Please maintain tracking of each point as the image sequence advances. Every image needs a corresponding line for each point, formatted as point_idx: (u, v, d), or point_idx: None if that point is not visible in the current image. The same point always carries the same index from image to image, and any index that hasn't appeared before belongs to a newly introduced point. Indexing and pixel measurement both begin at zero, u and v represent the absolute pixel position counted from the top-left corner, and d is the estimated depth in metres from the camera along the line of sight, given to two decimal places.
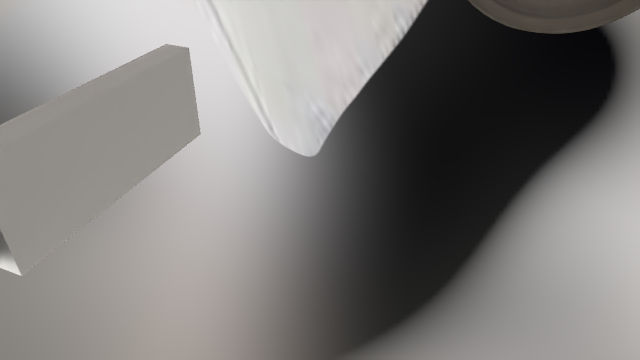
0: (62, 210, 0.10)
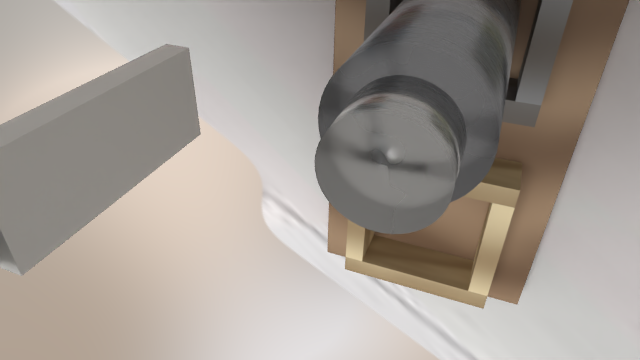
0: (62, 210, 0.10)
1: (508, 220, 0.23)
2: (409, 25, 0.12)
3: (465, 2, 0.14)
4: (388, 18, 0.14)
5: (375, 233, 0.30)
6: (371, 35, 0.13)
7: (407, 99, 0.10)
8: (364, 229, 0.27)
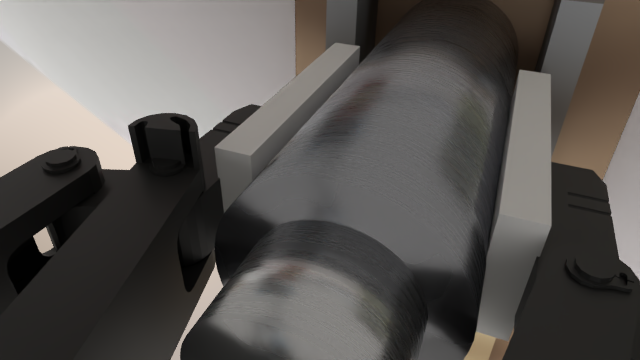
0: None
1: None
2: (345, 131, 0.08)
3: (437, 80, 0.10)
4: (330, 100, 0.10)
5: None
6: (298, 133, 0.09)
7: (320, 285, 0.06)
8: None
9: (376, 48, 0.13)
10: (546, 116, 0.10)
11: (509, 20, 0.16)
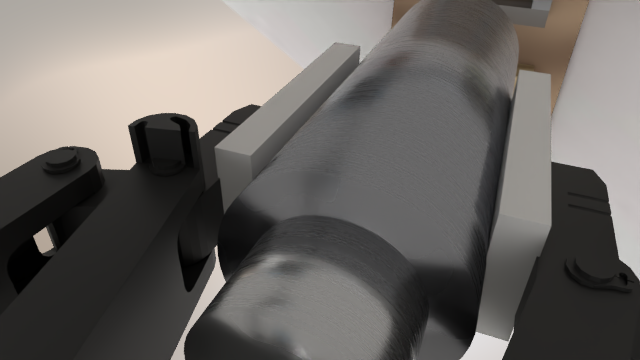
0: None
1: None
2: (347, 128, 0.08)
3: (438, 78, 0.10)
4: (331, 98, 0.10)
5: None
6: (300, 130, 0.09)
7: (323, 279, 0.06)
8: None
9: (377, 46, 0.13)
10: (546, 116, 0.10)
11: (509, 19, 0.16)
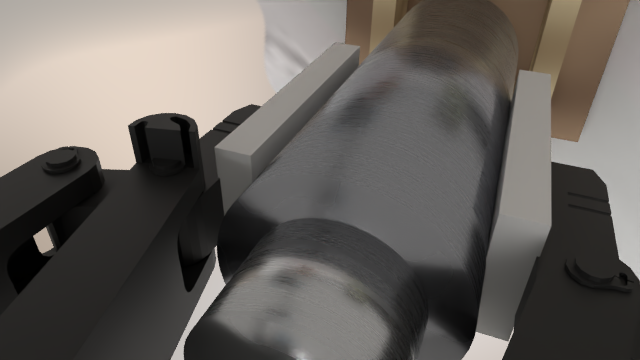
0: None
1: None
2: (347, 130, 0.08)
3: (437, 80, 0.10)
4: (331, 100, 0.10)
5: None
6: (300, 132, 0.09)
7: (322, 282, 0.06)
8: None
9: (377, 48, 0.13)
10: (546, 116, 0.10)
11: (509, 20, 0.16)
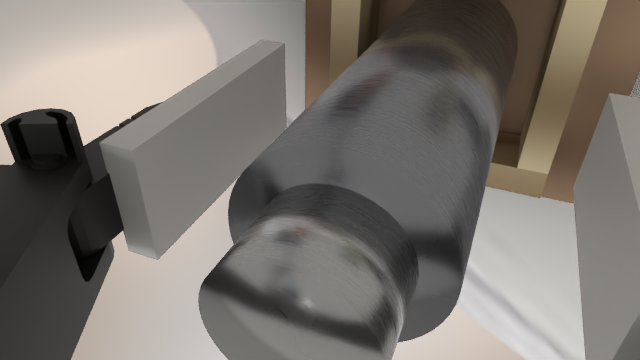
0: (188, 198, 0.11)
1: (597, 17, 0.13)
2: (347, 107, 0.09)
3: (434, 64, 0.11)
4: (335, 83, 0.11)
5: None
6: (305, 111, 0.10)
7: (322, 235, 0.07)
8: None
9: (380, 37, 0.14)
10: None
11: None
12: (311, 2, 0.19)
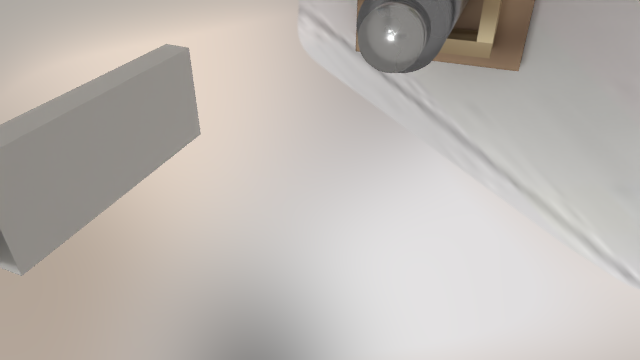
0: (62, 210, 0.10)
1: None
2: None
3: None
4: None
5: None
6: None
7: (401, 3, 0.22)
8: None
9: None
10: None
11: None
12: None
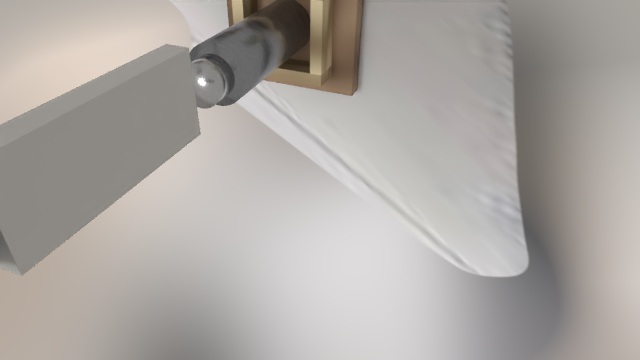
0: (62, 210, 0.10)
1: (321, 11, 0.37)
2: (217, 36, 0.32)
3: (250, 26, 0.34)
4: None
5: None
6: None
7: (205, 60, 0.31)
8: None
9: None
10: None
11: (305, 9, 0.40)
12: (229, 5, 0.43)
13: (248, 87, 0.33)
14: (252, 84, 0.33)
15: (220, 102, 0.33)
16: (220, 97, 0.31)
